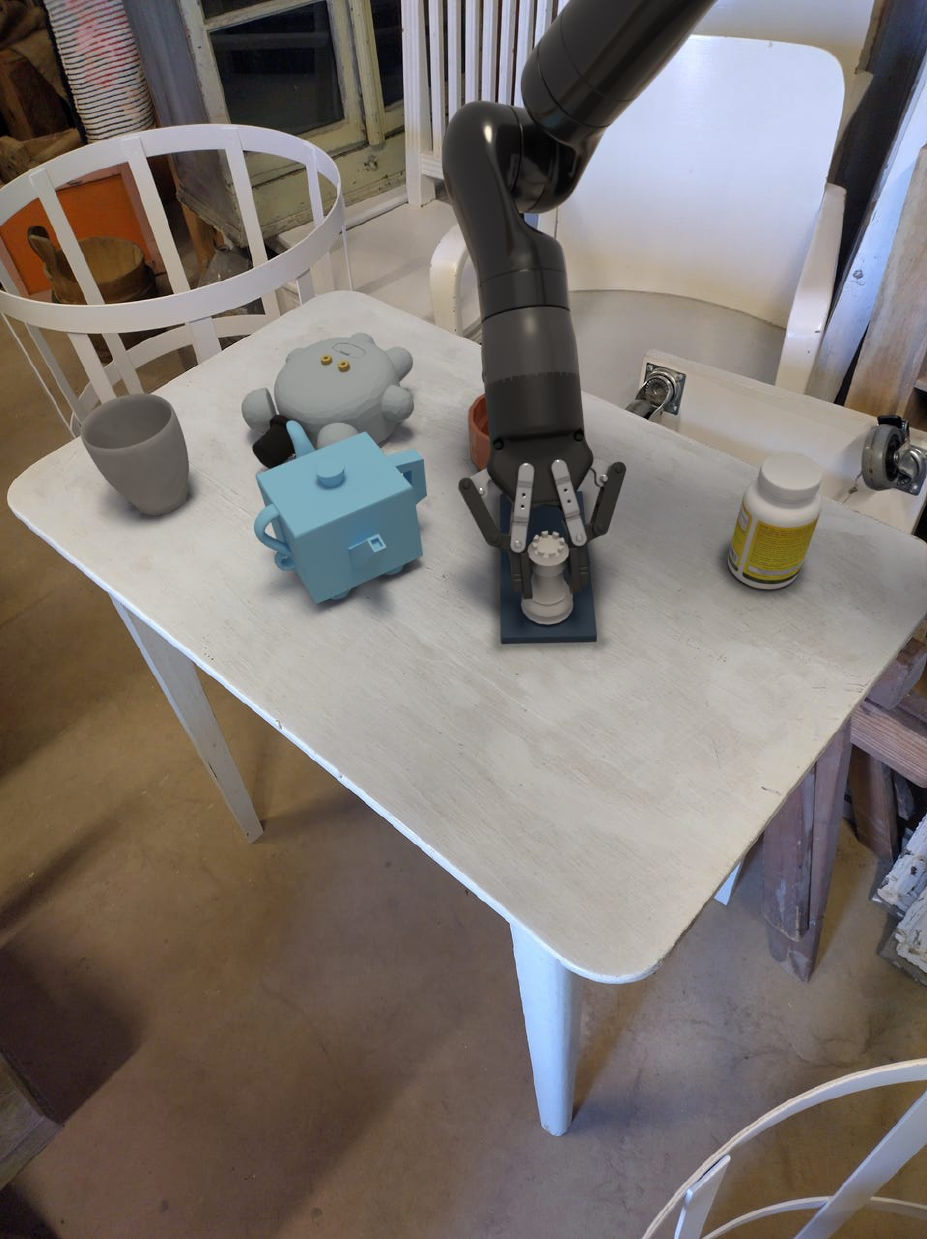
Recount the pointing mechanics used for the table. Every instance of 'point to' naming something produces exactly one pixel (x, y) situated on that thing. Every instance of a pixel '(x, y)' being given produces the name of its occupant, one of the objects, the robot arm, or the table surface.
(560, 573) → the rook chess piece
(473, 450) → the bowl
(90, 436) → the mug
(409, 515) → the teapot
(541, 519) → the rectangular board
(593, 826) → the table surface
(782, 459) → the pill bottle
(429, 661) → the table surface
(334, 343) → the figurine
